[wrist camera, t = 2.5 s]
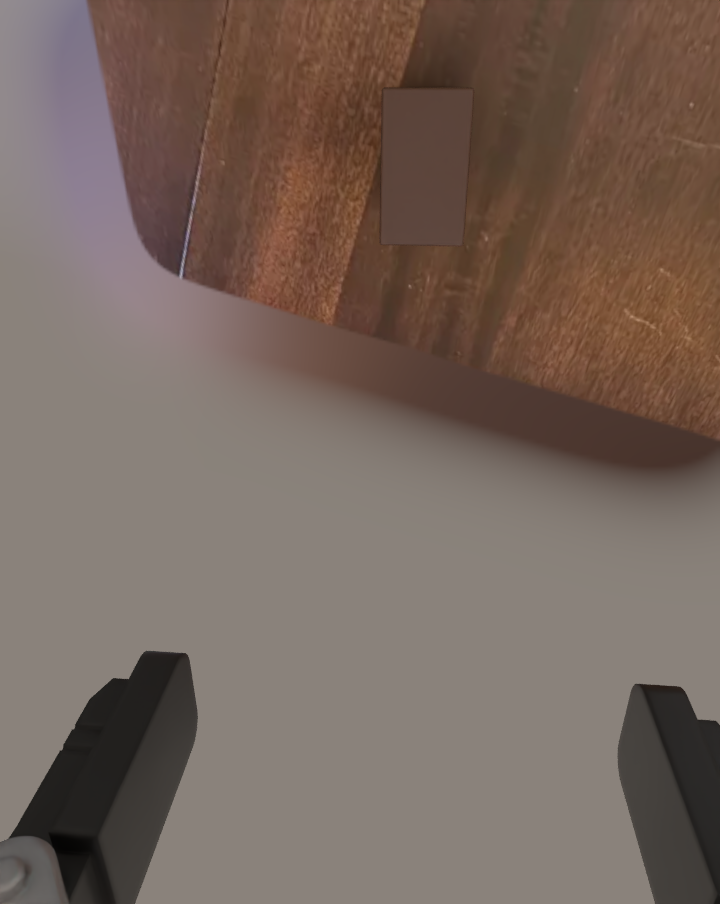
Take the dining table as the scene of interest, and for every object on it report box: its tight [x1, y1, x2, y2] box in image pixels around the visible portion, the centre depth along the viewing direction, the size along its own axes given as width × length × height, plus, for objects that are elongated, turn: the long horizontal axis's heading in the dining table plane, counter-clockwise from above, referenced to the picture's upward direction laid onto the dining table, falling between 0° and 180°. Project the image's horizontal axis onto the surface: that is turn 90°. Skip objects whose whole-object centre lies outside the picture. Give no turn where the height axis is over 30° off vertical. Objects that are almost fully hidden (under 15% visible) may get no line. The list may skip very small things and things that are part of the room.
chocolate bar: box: [380, 88, 474, 246], centre depth 29 cm, size 3×5×12 cm, turn 0°
